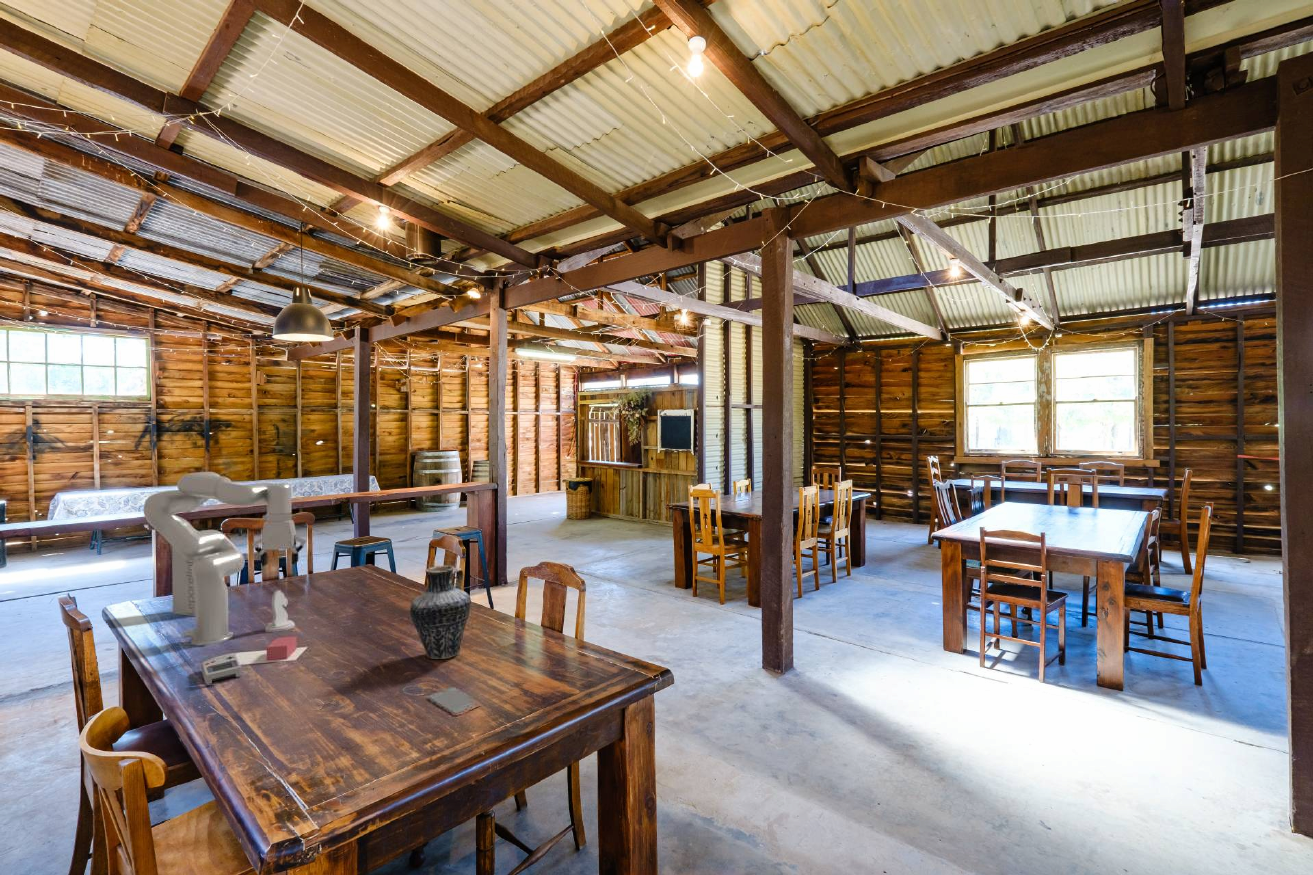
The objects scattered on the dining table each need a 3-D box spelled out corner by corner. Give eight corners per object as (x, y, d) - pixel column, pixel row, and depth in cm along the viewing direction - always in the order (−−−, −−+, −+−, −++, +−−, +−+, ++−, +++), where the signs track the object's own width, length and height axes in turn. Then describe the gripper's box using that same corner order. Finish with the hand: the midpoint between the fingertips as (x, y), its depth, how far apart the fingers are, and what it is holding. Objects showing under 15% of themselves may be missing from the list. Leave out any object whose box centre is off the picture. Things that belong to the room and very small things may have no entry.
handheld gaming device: (235, 662, 191) (234, 651, 191) (242, 677, 181) (241, 665, 180) (201, 671, 185) (200, 659, 185) (206, 687, 174) (205, 674, 174)
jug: (451, 668, 187) (450, 576, 187) (398, 664, 191) (397, 573, 191) (483, 645, 208) (482, 562, 207) (434, 641, 212) (433, 559, 211)
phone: (453, 690, 173) (453, 686, 173) (483, 707, 162) (483, 703, 162) (427, 700, 167) (427, 695, 167) (456, 718, 156) (456, 713, 156)
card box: (277, 650, 202) (277, 637, 202) (296, 649, 203) (296, 636, 203) (266, 660, 193) (266, 647, 193) (287, 658, 195) (286, 645, 195)
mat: (219, 667, 189) (219, 666, 189) (236, 654, 200) (236, 652, 200) (295, 661, 194) (295, 659, 194) (307, 648, 206) (307, 646, 206)
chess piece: (300, 623, 232) (299, 586, 232) (284, 632, 222) (283, 593, 222) (276, 623, 232) (275, 586, 232) (258, 632, 223) (258, 593, 222)
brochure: (172, 613, 246) (171, 542, 246) (186, 609, 252) (185, 540, 251) (197, 616, 242) (196, 544, 242) (210, 612, 247) (209, 542, 247)
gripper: (247, 520, 206) (248, 568, 206) (302, 518, 210) (302, 565, 211) (256, 517, 214) (257, 563, 214) (309, 515, 218) (309, 560, 218)
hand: (279, 564), depth 212 cm, fingers open, 9 cm apart
